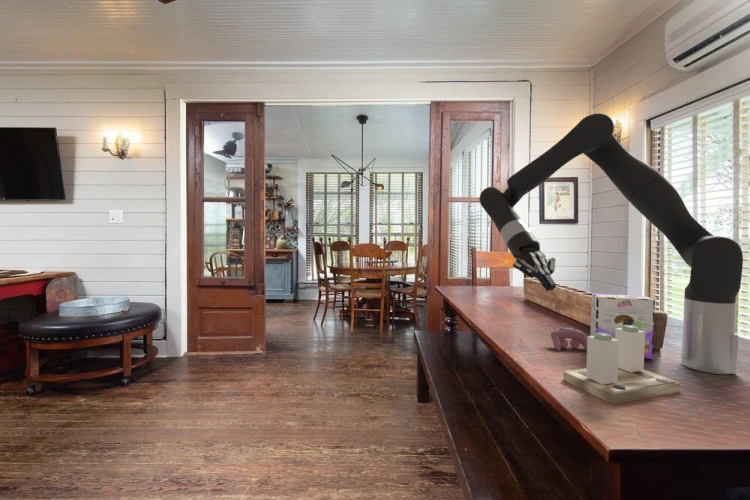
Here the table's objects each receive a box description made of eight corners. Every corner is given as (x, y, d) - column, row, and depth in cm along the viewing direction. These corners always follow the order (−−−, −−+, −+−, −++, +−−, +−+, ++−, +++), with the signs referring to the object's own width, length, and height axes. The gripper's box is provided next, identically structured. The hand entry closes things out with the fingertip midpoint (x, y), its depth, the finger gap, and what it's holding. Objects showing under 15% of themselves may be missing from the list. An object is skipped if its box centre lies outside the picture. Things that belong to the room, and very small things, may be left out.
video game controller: (586, 353, 102) (581, 329, 105) (593, 351, 98) (588, 326, 101) (551, 352, 103) (547, 328, 106) (557, 350, 99) (553, 325, 102)
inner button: (613, 366, 82) (615, 325, 82) (626, 364, 83) (628, 324, 83) (630, 372, 78) (632, 329, 78) (643, 370, 80) (645, 328, 79)
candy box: (644, 352, 98) (647, 295, 98) (653, 359, 93) (656, 299, 92) (589, 347, 103) (591, 292, 102) (594, 353, 97) (596, 295, 97)
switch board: (563, 379, 80) (563, 369, 80) (624, 370, 85) (624, 361, 85) (613, 404, 68) (613, 392, 68) (679, 391, 74) (680, 380, 74)
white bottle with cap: (586, 377, 76) (587, 332, 75) (600, 374, 77) (601, 331, 76) (603, 384, 72) (604, 338, 71) (617, 382, 73) (619, 336, 73)
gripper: (506, 229, 94) (538, 280, 83) (545, 230, 98) (581, 278, 87) (493, 248, 99) (522, 298, 88) (531, 248, 103) (563, 296, 92)
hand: (551, 288), depth 87 cm, fingers closed
